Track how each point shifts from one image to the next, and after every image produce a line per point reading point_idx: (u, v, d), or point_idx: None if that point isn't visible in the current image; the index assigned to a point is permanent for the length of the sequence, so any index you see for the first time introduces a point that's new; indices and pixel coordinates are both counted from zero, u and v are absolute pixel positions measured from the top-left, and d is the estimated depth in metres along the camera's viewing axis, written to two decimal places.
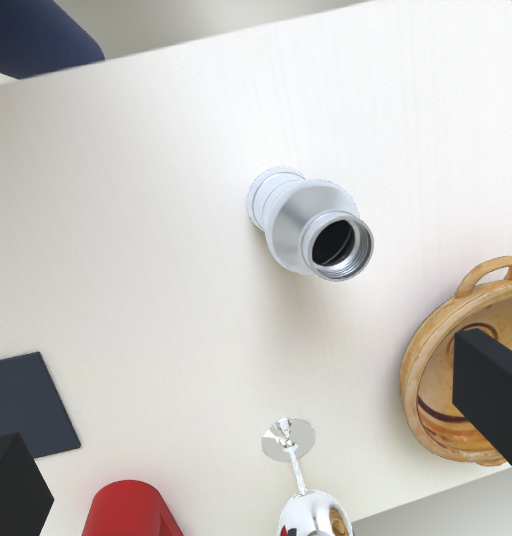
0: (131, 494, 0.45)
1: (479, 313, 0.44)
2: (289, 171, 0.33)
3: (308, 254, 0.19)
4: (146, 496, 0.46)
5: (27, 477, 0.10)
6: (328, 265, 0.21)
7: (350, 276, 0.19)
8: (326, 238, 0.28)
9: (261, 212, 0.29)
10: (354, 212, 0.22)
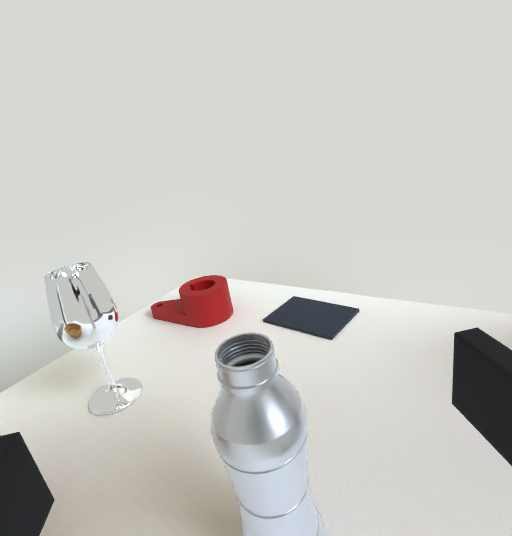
0: (214, 314, 0.66)
1: None
2: None
3: None
4: (204, 318, 0.66)
5: (27, 477, 0.10)
6: (234, 366, 0.23)
7: (220, 346, 0.22)
8: None
9: None
10: (241, 426, 0.20)
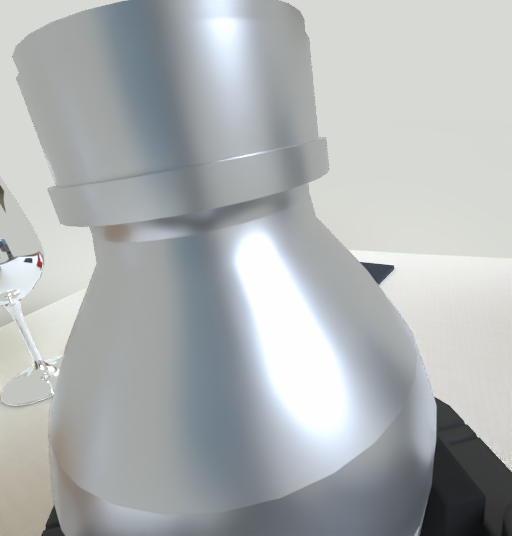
0: None
1: None
2: None
3: None
4: None
5: None
6: None
7: None
8: None
9: None
10: (137, 404, 0.04)
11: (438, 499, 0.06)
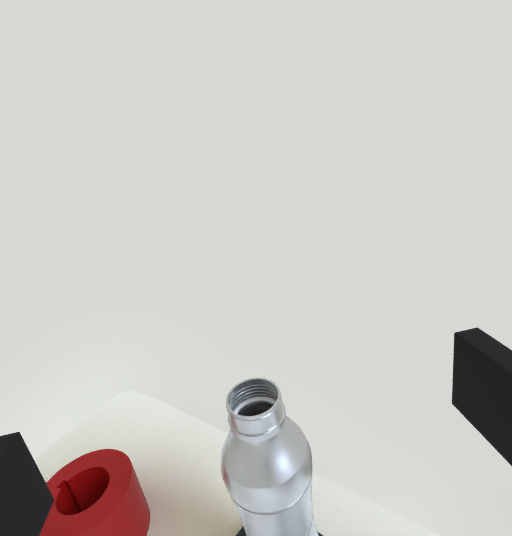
0: None
1: None
2: None
3: None
4: None
5: (27, 477, 0.10)
6: (243, 409, 0.24)
7: (231, 391, 0.23)
8: None
9: None
10: (251, 470, 0.22)
11: None
